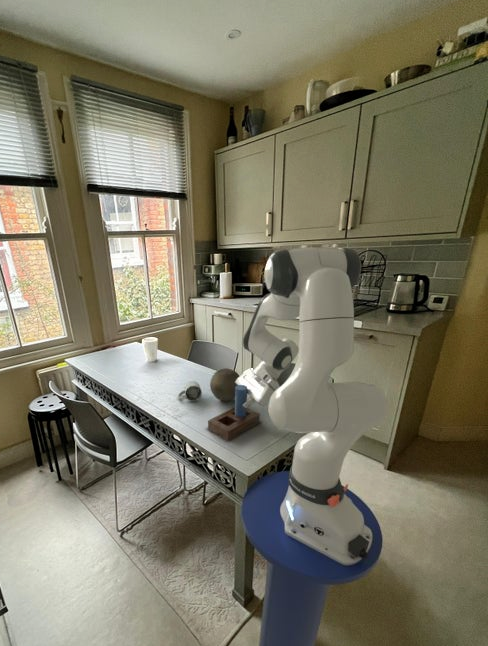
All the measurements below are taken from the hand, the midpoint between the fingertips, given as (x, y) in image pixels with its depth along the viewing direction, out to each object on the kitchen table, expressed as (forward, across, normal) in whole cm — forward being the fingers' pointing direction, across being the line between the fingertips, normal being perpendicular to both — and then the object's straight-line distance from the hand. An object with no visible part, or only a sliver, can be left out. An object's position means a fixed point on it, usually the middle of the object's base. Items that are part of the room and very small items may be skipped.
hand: (240, 403), depth 122 cm
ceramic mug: (+14, -28, -2) cm, 31 cm away
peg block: (+8, +1, +4) cm, 9 cm away
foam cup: (+18, -85, -6) cm, 87 cm away
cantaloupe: (+4, -19, +8) cm, 21 cm away
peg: (+6, 0, +6) cm, 8 cm away
